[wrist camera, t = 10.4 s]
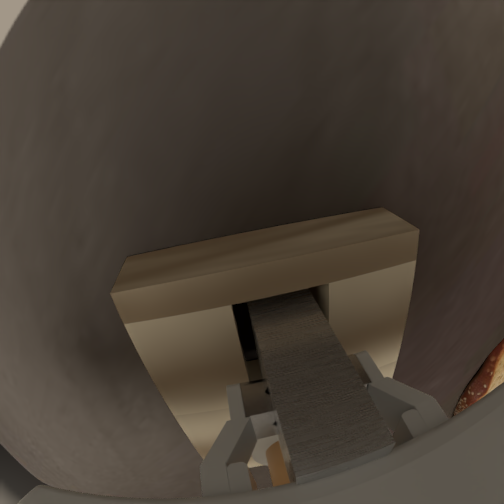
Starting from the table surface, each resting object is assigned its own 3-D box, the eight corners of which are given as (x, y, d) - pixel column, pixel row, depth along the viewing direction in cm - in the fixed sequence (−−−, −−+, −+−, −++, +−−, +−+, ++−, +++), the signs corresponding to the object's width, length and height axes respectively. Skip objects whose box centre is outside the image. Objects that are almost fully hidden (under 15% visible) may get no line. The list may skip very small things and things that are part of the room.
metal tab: (245, 293, 12) (295, 477, 5) (303, 280, 13) (395, 442, 5) (260, 371, 15) (299, 514, 7) (307, 360, 15) (363, 494, 8)
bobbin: (242, 426, 14) (266, 541, 8) (341, 401, 15) (388, 504, 8) (256, 462, 17) (276, 549, 10) (334, 442, 17) (367, 523, 11)
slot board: (127, 256, 12) (110, 293, 10) (382, 207, 13) (419, 229, 11) (210, 440, 19) (213, 472, 17) (359, 404, 20) (374, 432, 18)
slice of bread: (476, 415, 33) (486, 429, 30) (415, 435, 29) (427, 456, 25) (539, 330, 27) (553, 344, 24) (504, 326, 22) (524, 346, 19)
